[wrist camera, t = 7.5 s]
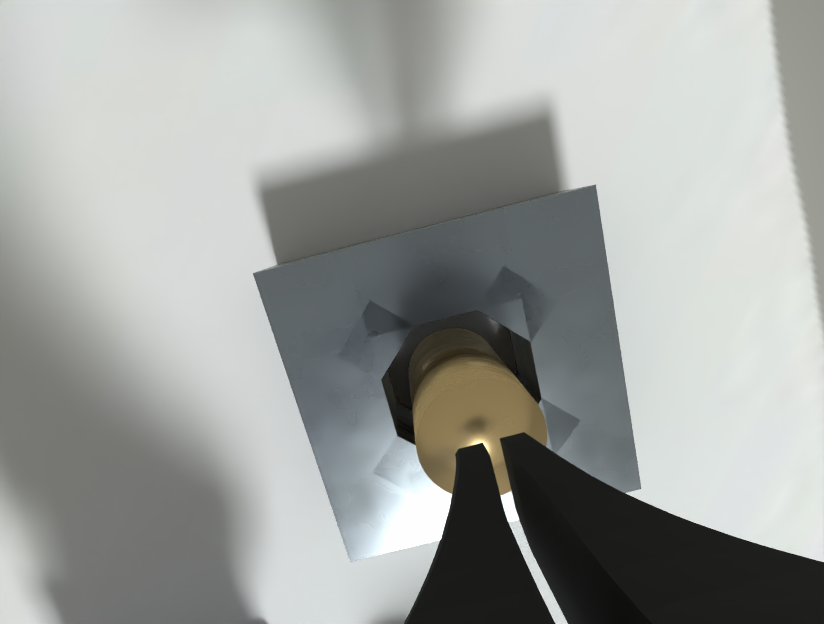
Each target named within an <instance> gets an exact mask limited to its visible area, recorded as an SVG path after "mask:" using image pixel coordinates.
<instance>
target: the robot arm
mask: <svg viewBox="0 0 824 624" xmlns="http://www.w3.org/2000/svg"><path fill="white" fill-rule="evenodd" d="M500 443H501V447H502V451H503V456H504V460H505V465H506V469H507V473H508V478H509V482H510V487H511V491H512V495H513V500H514V504H515V509H516V512H517V514H518V517H519V520H520V522H521V525H522V528H523V530H524V533H525V536H526V538H527V541H528V543H529V546H530V549H531V551H532V553H533V555H534V557H535V559H536V561H537V563H538V565H539V567H540V569H541V571H542V573H543V575H544V577H545V579H546V581H547V583H548V585H549V587H550V589H551V591H552V593H553V595H554V597H555V599H556V601H557V603H558V605H559V607H560V609H561V611H562V613H563V614H564V616H565V618H566V620H567V622H568V624H824V562H820V561H816V560H813V559H809V558H805V557H802V556H798V555H795V554H791V553H787V552H784V551H780V550H776V549H773V548H769V547H766V546H762V545H759V544H756V543H753V542H749V541H746V540H743V539H740V538H737V537H733V536H731V535H728V534H725V533H722V532H719V531H716V530H713V529H711V528H708V527H705V526H702V525H699V524H696V523H693V522H691V521H688V520H686V519H683V518H680V517H678V516H675V515H673V514H670V513H668V512H666V511H663V510H661V509H659V508H656V507H654V506H652V505H649V504H647V503H645V502H643V501H640V500H638V499H636V498H634V497H632V496H630V495H627V494H625V493H623V492H621V491H619V490H618V489H616V488H614V487H612V486H610V485H608V484H606V483H604V482H602V481H600V480H599V479H597V478H595V477H593V476H591V475H590V474H588V473H586V472H585V471H583V470H581V469H580V468H578V467H576V466H575V465H573V464H571V463H570V462H568V461H567V460H565V459H564V458H562V457H560V456H559V455H557V454H556V453H554V452H553V451H551V450H550V449H548V448H547V447H545V446H544V445H543V444H541V443H540V442H538V441H537V440H535V439H534V438H532V437H531V436H529V435H528V434H526V433H525V432H522V433H519V434H515V435H511V436H507V437H503V438H500ZM455 457H456V472H455V480H454V487H453V492H452V497H451V503H450V507H449V511H448V515H447V519H446V522H445V526H444V529H443V533H442V536H441V540H440V542H439V545H438V548H437V551H436V554H435V557H434V559H433V562H432V564H431V567H430V570H429V572H428V574H427V577H426V579H425V581H424V583H423V586H422V588H421V590H420V592H419V594H418V597H417V599H416V601H415V603H414V605H413V607H412V609H411V611H410V613H409V615H408V617H407V619H406V621H405V623H404V624H555V622H554V620H553V618H552V616H551V614H550V612H549V610H548V608H547V606H546V604H545V602H544V600H543V598H542V596H541V594H540V592H539V590H538V588H537V585H536V583H535V581H534V579H533V577H532V575H531V572H530V570H529V568H528V566H527V564H526V562H525V559H524V557H523V555H522V553H521V551H520V548H519V546H518V544H517V541H516V539H515V537H514V535H513V532H512V530H511V528H510V526H509V523H508V520H507V517H506V514H505V511H504V507H503V503H502V500H501V496H500V492H499V488H498V484H497V480H496V476H495V472H494V469H493V465H492V461H491V457H490V455H489V453H488V451H487V449H486V447H485V446H484V444H483V443H479V444H475V445H471V446H467V447H463V448H460V449H458V450H457V452H456V453H455Z"/></svg>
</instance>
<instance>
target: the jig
mask: <svg viewBox="0 0 824 624" xmlns="http://www.w3.org/2000/svg"><path fill="white" fill-rule="evenodd" d="M253 275H254V278H255V281H256V284H257V287H258V290H259V293H260V296H261V299H262V302H263V305H264V308H265V311H266V313H267V316H268V319H269V322H270V325H271V328H272V331H273V334H274V337H275V340H276V343H277V346H278V349H279V352H280V355H281V358H282V361H283V364H284V367H285V370H286V373H287V376H288V379H289V382H290V385H291V388H292V391H293V393H294V396H295V399H296V402H297V405H298V408H299V411H300V414H301V417H302V420H303V423H304V426H305V429H306V432H307V435H308V438H309V441H310V444H311V447H312V450H313V453H314V456H315V459H316V462H317V465H318V468H319V471H320V474H321V476H322V479H323V482H324V485H325V488H326V491H327V494H328V497H329V500H330V503H331V506H332V509H333V512H334V515H335V518H336V521H337V524H338V527H339V530H340V533H341V536H342V539H343V542H344V545H345V548H346V551H347V554H348V556H349V559H350V562H353V561H357V560H361V559H365V558H369V557H373V556H377V555H381V554H385V553H389V552H393V551H397V550H401V549H405V548H409V547H413V546H417V545H421V544H425V543H429V542H432V541H436V540H440V539H441V536H442V533H443V529H444V526H445V522H446V519H447V515H448V511H449V507H450V503H451V497H452V494H450V493H448V492H446V491H444V490H443V489H441V488H439V487H438V486H437V485H436V484H435V483H433V482H432V481H431V479H430V478H429V477H428V476H427V475H426V473H425V472H424V470H423V468H422V466H421V464H420V462H419V459H418V456H417V450H416V442H415V433H414V423H413V414H412V411H411V410H410V409H408V408H406V407H404V406H402V405H400V404H398V403H396V399H395V395H394V392H393V388H392V385H391V381H390V378H389V374H388V371H387V369H388V368H389V366H390V364H391V363H392V361H393V359H394V358H395V356H396V355H397V353H398V351H399V350H400V348H401V346H402V345H403V343H404V341H405V340H406V338H407V336H408V335H409V333H410V332H411V330H412V328H413V327H414V326H417V325H421V324H425V323H428V322H432V321H436V320H440V319H444V318H448V317H452V316H456V315H460V314H463V313H467V312H471V311H475V310H478V311H479V312H481V313H483V314H484V315H486V316H488V317H490V318H491V319H493V320H495V321H496V322H498V323H500V324H501V325H503V326H505V327H506V328H508V329H509V331H510V335H511V340H512V345H513V350H514V355H515V359H516V364H517V369H518V372H517V374H516V375H515V376H516V378H517V379H518V380H519V381H520V383H521V384H522V385H523V386H524V388H525V389H526V390H527V391H528V392H529V394H530V395H531V396H532V397H533V399H534V400H535V401H536V402H537V404H538V405H539V407H540V409H541V410H542V413H543V415H544V417H545V421H546V425H547V444H546V447H547V448H548V449H550V450H551V451H553V452H554V453H556V454H557V455H559V456H560V457H562V458H564V459H565V460H567V461H568V462H570V463H571V464H573V465H575V466H576V467H578V468H580V469H581V470H583V471H585V472H586V473H588V474H590V475H591V476H593V477H595V478H597V479H599V480H600V481H602V482H604V483H606V484H608V485H610V486H612V487H614V488H616V489H618V490H619V491H621V492H623V493H626V492H630V491H634V490H638V489H641V484H640V477H639V470H638V464H637V457H636V450H635V444H634V437H633V430H632V424H631V417H630V410H629V404H628V397H627V390H626V384H625V377H624V370H623V364H622V357H621V350H620V344H619V337H618V330H617V324H616V317H615V310H614V304H613V297H612V290H611V284H610V277H609V270H608V264H607V257H606V250H605V244H604V237H603V230H602V224H601V217H600V210H599V204H598V197H597V190H596V185H592V186H587V187H582V188H577V189H572V190H567V191H562V192H558V193H554V194H550V195H546V196H542V197H538V198H534V199H531V200H527V201H523V202H519V203H515V204H511V205H507V206H503V207H500V208H496V209H492V210H488V211H484V212H480V213H476V214H473V215H469V216H465V217H461V218H457V219H453V220H449V221H446V222H442V223H438V224H434V225H430V226H426V227H422V228H418V229H415V230H411V231H407V232H403V233H399V234H395V235H391V236H388V237H384V238H380V239H376V240H372V241H368V242H364V243H361V244H357V245H353V246H349V247H345V248H341V249H337V250H333V251H330V252H326V253H322V254H318V255H314V256H310V257H306V258H303V259H299V260H295V261H291V262H287V263H283V264H279V265H276V266H273V267H270V268H267V269H264V270H261V271H258V272H256V273H253ZM500 496H501V500H502V503H503V507H504V511H505V514H506V517H507V520H508V522H512V521H516V520H519V517H518V514H517V512H516V509H515V504H514V500H513V495H512V491H510V492H508V493H506V494H503V495H500Z"/></svg>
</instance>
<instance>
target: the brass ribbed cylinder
mask: <svg viewBox="0 0 824 624" xmlns="http://www.w3.org/2000/svg"><path fill="white" fill-rule="evenodd" d="M408 375H409V385H410V395H411V404H412V414H413V423H414V433H415V442H416V450H417V456H418V459H419V462H420V464H421V466H422V468H423V470H424V472H425V473H426V475H427V476H428V477H429V478H430V479H431V481H432V482H433V483H435V484H436V485H437V486H438V487H439V488H441V489H443V490H444V491H446V492H448V493H450V494H452V492H453V487H454V480H455V472H456V457H455V453H456V452H457V450H458V449H460V448H463V447H467V446H471V445H475V444H479V443H483V444H484V446H485V447H486V449H487V451H488V453H489V455H490V457H491V461H492V465H493V469H494V472H495V476H496V480H497V484H498V488H499V492H500V495H503V494H506V493H508V492H510V491H511V487H510V482H509V478H508V473H507V469H506V465H505V460H504V456H503V451H502V447H501V443H500V438H503V437H507V436H511V435H515V434H519V433H522V432H525V433H526V434H528V435H529V436H531V437H532V438H534V439H535V440H537V441H538V442H540V443H541V444H543V445H544V446H545V447H546V444H547V425H546V421H545V417H544V415H543V413H542V410H541V409H540V407H539V405H538V404H537V402H536V401H535V400H534V399H533V397H532V396H531V395H530V394H529V392H528V391H527V390H526V389H525V388H524V386H523V385H522V384H521V383H520V381H519V380H518V379H517V378H516V376H515V375H514V374H513V373H512V372H511V370H510V369H509V368H508V367H507V365H506V364H505V363H504V362H503V360H502V359H501V358H500V357H499V356H498V354H497V353H496V352H495V351H494V349H493V348H492V347H491V346H490V345H489V343H488V342H487V341H486V340H485V339H484V338H483V337H481V336H480V335H478V334H477V333H475V332H473V331H470V330H467V329H462V328H448V329H443V330H440V331H437V332H435V333H433V334H431V335H429V336H428V337H426V338H425V339H424V340H423V341H422V342H421V343H420V344H419V345H418V346H417V348H416V349H415V351H414V352H413V354H412V357H411V359H410V363H409V370H408Z"/></svg>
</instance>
